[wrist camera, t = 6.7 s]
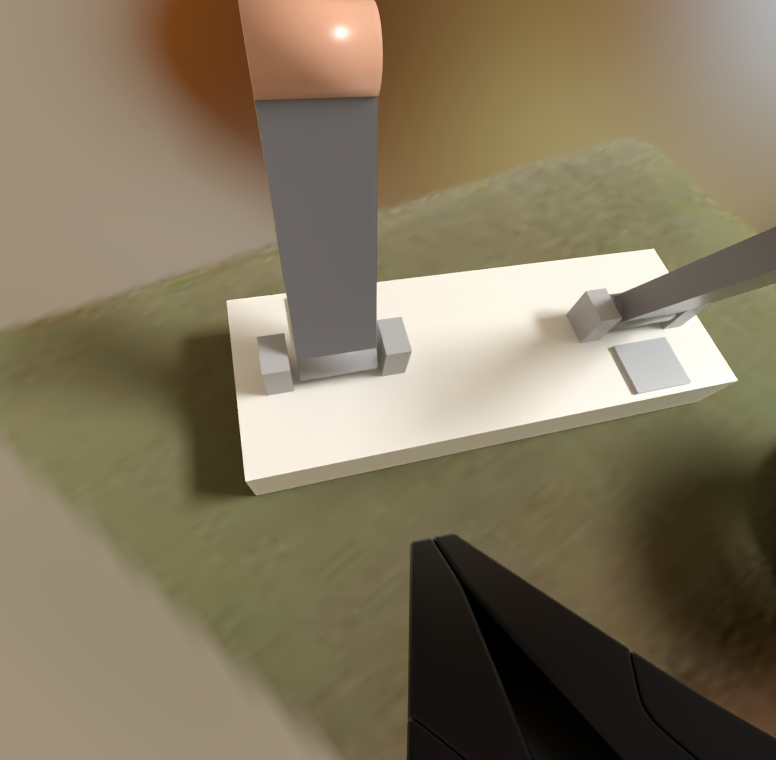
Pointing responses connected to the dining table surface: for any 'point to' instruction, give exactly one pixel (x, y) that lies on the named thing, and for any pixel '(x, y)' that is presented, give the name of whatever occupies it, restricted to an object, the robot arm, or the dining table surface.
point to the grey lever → (701, 282)
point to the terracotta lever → (321, 168)
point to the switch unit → (464, 369)
